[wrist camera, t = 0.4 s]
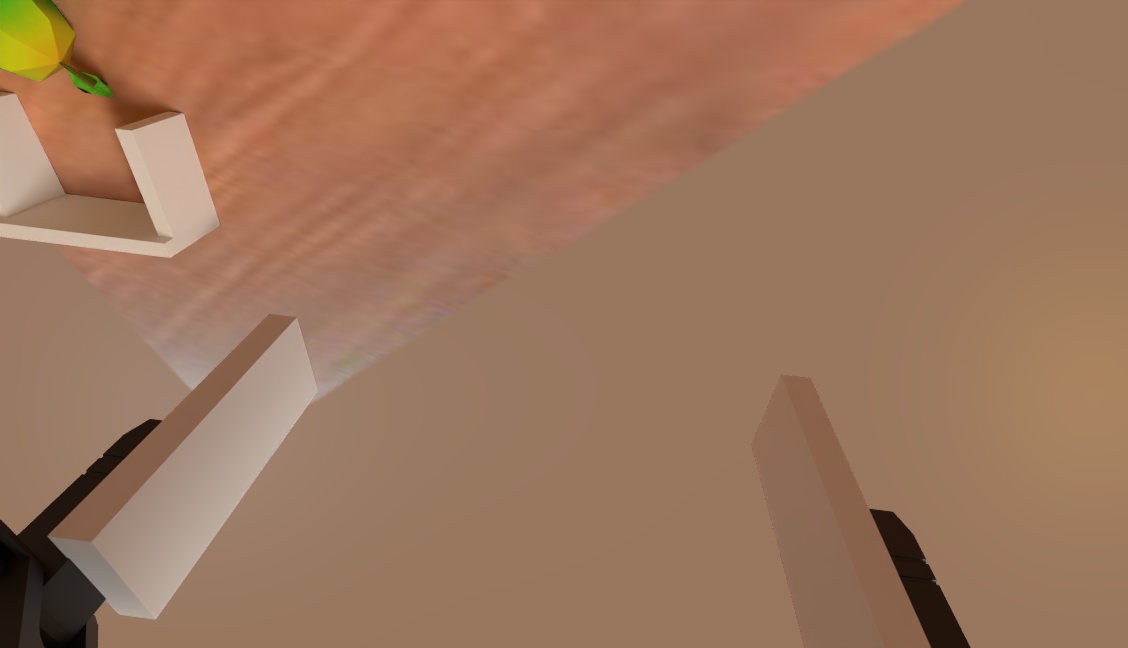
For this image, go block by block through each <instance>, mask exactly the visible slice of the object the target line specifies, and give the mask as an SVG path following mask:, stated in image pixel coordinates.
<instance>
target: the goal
mask: <svg viewBox="0 0 1128 648" xmlns="http://www.w3.org/2000/svg"><path fill="white" fill-rule="evenodd" d="M115 131H116V133H117V136H118V138H119V141H120V143H121V145H122V148H123V150H124V153H125V155H126V158H127V160H128V163H129V165H130V167H131V170H132V172H133V175H134V177H135V180H136V182H137V185H138V187H139V189H140V192H141V194H142V197H143V199H144V202H145V203H137V202H129V201H120V200H112V199H104V198H96V197H88V196H80V195H72V194H66V193H65V191H64V189H63V187H62V185H61V183H60V181H59V179H58V177H57V175H56V173H55V171H54V169H53V167H52V165H51V163H50V161H49V159H48V157H47V155H46V153H45V151H44V149H43V147H42V145H41V143H40V141H39V139H38V137H37V135H36V133H35V131H34V129H33V127H32V125H31V123H30V121H29V119H28V117H27V115H26V113H25V111H24V109H23V107H22V105H21V103H20V101H19V99H18V97H17V95H16V93H8V92H0V236H1V237H8V238H17V239H24V240H32V241H40V242H48V243H56V244H64V245H72V246H80V247H88V248H96V249H104V250H112V251H120V252H128V253H136V254H144V255H152V256H160V257H168V258H170V257H172V256H174V255H175V254H177V253H178V252H180V251H181V250H183V249H184V248H186V247H187V246H189V245H191V244H192V243H194V242H195V241H197V240H198V239H200V238H201V237H203V236H205V235H206V234H208V233H209V232H211V231H212V230H214V229H215V228H217V227H218V226H220V223H219V220H218V217H217V214H216V211H215V208H214V205H213V201H212V198H211V195H210V192H209V189H208V186H207V183H206V180H205V177H204V174H203V171H202V168H201V165H200V162H199V159H198V156H197V153H196V150H195V147H194V144H193V141H192V138H191V135H190V131H189V128H188V125H187V122H186V119H185V116H184V113H177V112H169V111H168V112H165V113H162V114H158V115H155V116H152V117H149V118H146V119H143V120H140V121H137V122H134V123H130V124H127V125H124V126H121V127H118V128H115Z"/></svg>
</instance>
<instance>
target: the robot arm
mask: <svg viewBox="0 0 1128 648" xmlns="http://www.w3.org/2000/svg"><path fill="white" fill-rule="evenodd" d="M317 392H318V390H317V387H316V383H315V380H314V376H313V373H312V369H311V366H310V362H309V359H308V355H307V352H306V348H305V344H304V341H303V337H302V334H301V330H300V327H299V323H298V320H297V317H290V316H282V315H273V314H269V315H268V316H267V317H266V318H265V319H264V320H263V321H262V322H261V323H260V324H259V325H258V326H257V327H256V328H255V329H254V330H253V331H252V332H251V333H250V334H249V335H248V336H247V337H246V338H245V339H244V340H243V341H242V342H241V343H240V344H239V345H238V346H237V347H236V348H235V349H234V350H233V351H232V352H231V353H230V354H229V355H228V356H227V357H226V358H225V359H224V360H223V361H222V362H221V363H220V364H219V365H218V366H217V367H216V368H215V369H214V370H213V371H212V372H211V373H210V374H209V375H208V376H207V377H206V378H205V379H204V380H203V381H202V382H201V383H200V384H199V385H198V386H197V387H196V388H195V389H194V390H193V391H192V392H191V393H190V394H189V395H188V396H187V397H186V398H185V399H184V400H183V401H182V402H181V403H180V404H179V405H178V406H177V407H176V408H175V409H174V410H173V411H172V412H171V413H170V414H169V415H168V416H167V417H166V418H165V419H164V420H163V421H162V420H154V419H149V420H148V421H146V422H144V423H143V424H141V425H139V426H138V427H136V428H134V429H133V430H131V431H129V432H128V433H126V434H124V435H123V436H122V437H121V438H120V439H119V440H118V441H117V442H116V443H114V444H113V445H112V446H111V447H110V448H109V449H108V450H107V451H106V452H105V453H104V454H103V457H102V458H99V459H98V460H97V461H96V462H94V464H92V465H91V466H90V467H89V468H88V469H87V470H86V471H87V472H86V474H84V475H83V474H82V475H81V476H80V477H79V478H78V479H77V480H76V481H74V483H72V484H71V485H70V486H69V487H68V488H67V489H66V490H65V491H64V492H63V493H62V494H61V495H60V496H59V497H58V498H57V499H55V500H54V501H53V502H52V503H51V504H50V505H49V506H48V507H47V508H46V509H45V510H44V511H43V512H42V513H41V514H40V515H39V516H38V517H37V518H36V519H34V521H32V522H31V523H30V524H29V525H28V526H27V527H26V528H25V529H24V530H23V531H22V532H21V533H20V534H18V535H17V536H16V535H15V534H14V533H13V532H12V531H11V529H10V528H9V527H7V525H6V524H4V522H3V521H2V520H0V648H98V624H97V621H96V617H95V616H94V615H93V614H94V613H95V612H96V610H97V609H98V608H99V607H100V606H101V604H102V603H103V602H104V601H105V600H106V601H107V602H108V603H109V604H110V605H111V606H112V608H113V609H114V610H115V611H116V612H117V613H118V614H121V615H128V616H135V617H142V618H149V619H156V618H157V617H158V615H159V614H160V613H161V611H162V610H163V608H164V607H165V606H166V604H167V603H168V601H169V600H170V598H171V597H172V596H173V594H174V593H175V591H176V590H177V589H178V587H179V586H180V584H181V583H182V582H183V580H184V579H185V577H186V576H187V574H188V573H189V572H190V570H191V569H192V568H193V566H194V564H195V563H196V562H197V560H198V559H199V558H200V556H201V555H202V553H203V552H204V551H205V549H206V548H207V546H208V545H209V544H210V542H211V541H212V539H213V538H214V537H215V535H216V533H217V532H218V531H219V530H220V528H221V527H222V525H223V524H224V522H225V521H226V519H227V518H228V517H229V515H230V514H231V513H232V511H233V510H234V508H235V507H236V506H237V504H238V503H239V501H240V500H241V499H242V497H243V496H244V494H245V493H246V491H247V490H248V489H249V487H250V486H251V484H252V483H253V482H254V480H255V479H256V477H257V476H258V475H259V473H260V472H261V470H262V469H263V468H264V466H265V464H266V463H267V462H268V460H269V459H270V458H271V456H272V455H273V453H274V452H275V451H276V449H277V448H278V446H279V445H280V444H281V442H282V441H283V439H284V438H285V437H286V435H287V434H288V432H289V431H290V429H291V428H292V427H293V425H294V424H295V422H296V421H297V419H298V418H299V417H300V415H301V414H302V413H303V411H304V410H305V408H306V407H307V406H308V404H309V403H310V401H311V400H312V399H313V397H314V396H315V394H316V393H317ZM751 446H752V449H753V453H754V457H755V461H756V465H757V469H758V472H759V476H760V480H761V484H762V488H763V491H764V495H765V499H766V503H767V507H768V511H769V514H770V518H771V522H772V525H773V530H774V533H775V537H776V541H777V545H778V549H779V552H780V556H781V560H782V564H783V568H784V571H785V575H786V579H787V583H788V587H789V590H790V594H791V598H792V602H793V606H794V609H795V613H796V617H797V621H798V624H799V628H800V632H801V636H802V640H803V644H804V647H805V648H970V646H969V644H968V642H967V640H966V638H965V636H964V634H963V632H962V630H961V628H960V626H959V624H958V622H957V620H956V618H955V616H954V614H953V612H952V610H951V608H950V606H949V604H948V602H947V600H946V598H945V596H944V594H943V592H942V590H941V588H940V586H939V585H937V584H936V578H935V576H934V574H933V572H932V570H931V569H930V566H929V565H928V564H926V559H925V556H924V554H923V552H922V551H921V548H920V547H919V545H918V543H917V541H916V539H915V537H914V535H913V534H912V532H911V531H910V530H909V529H908V528H907V527H906V526H905V525H904V523H903V522H902V521H901V520H900V519H899V518H898V517H897V516H896V515H895V514H894V512H890V511H882V510H875V509H874V510H873V509H869V508H868V506H867V504H866V501H865V499H864V497H863V494H862V492H861V490H860V488H859V485H858V483H857V481H856V479H855V476H854V475H853V472H852V470H851V468H850V465H849V463H848V461H847V459H846V456H845V454H844V452H843V450H842V447H841V445H840V443H839V441H838V438H837V436H836V434H835V432H834V429H833V427H832V425H831V423H830V420H829V418H828V416H827V414H826V412H825V409H824V408H823V405H822V403H821V401H820V398H819V396H818V394H817V392H816V389H815V387H814V385H813V382H812V380H811V378H805V377H797V376H787V375H781V377H780V379H779V381H778V384H777V386H776V388H775V390H774V393H773V395H772V398H771V400H770V402H769V405H768V407H767V409H766V412H765V414H764V416H763V418H762V421H761V423H760V425H759V428H758V430H757V432H756V435H755V437H754V439H753V442H752V444H751Z"/></svg>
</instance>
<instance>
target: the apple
mask: <svg viewBox="0 0 1128 648" xmlns="http://www.w3.org/2000/svg"><path fill="white" fill-rule="evenodd" d="M75 36H76V34H75V33H74V31H73V30H72V28H71V27H70V25H69V24H68V23H67V21H66V20H65V18H64V17H63V16H62V14H61V13H60V11H59V10H58V9H57V7H56V6H55V4H54V3H53V2H52V1H51V0H0V69H3V70H6V71H9V72H12V73H15V74H18V75H21V76H24V77H27V78H30V79H33V80H36V81H39V82H41V81H43V80H45V79H46V78H48V77H49V76H51V75H53V74H54V73H56V72H57V71H59V70H61V69H62V68H64V67H65V68H66V69H67V71H68V73H69V75H70V77H71V79H72V81H73V83H74V85H75V86H76V87H77V88H79V89H80V90H82V91H83V92H85V93H90V94H95V95H101V96H106V97H112V98H114V96H113V94H112V92H111V91H110V89H109V87H108V85H107V83H106V82H104V81H103V80H101V79H99V78H98V77H96V76H93V75H90V74H87V73H84V72H81V71H78V70H76V69H74V68H72V67H70V66H68V65H69V64H70V63H71V58H72V52H73V47H74V41H75Z"/></svg>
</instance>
